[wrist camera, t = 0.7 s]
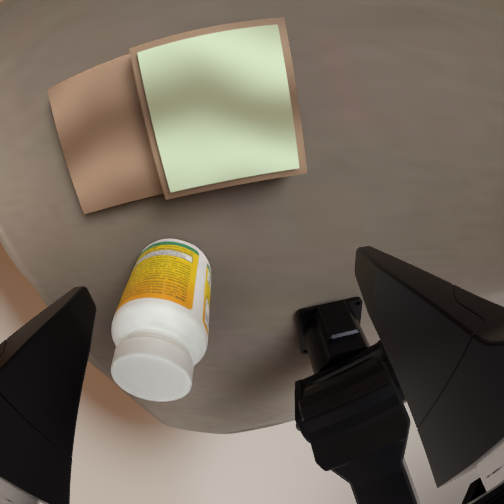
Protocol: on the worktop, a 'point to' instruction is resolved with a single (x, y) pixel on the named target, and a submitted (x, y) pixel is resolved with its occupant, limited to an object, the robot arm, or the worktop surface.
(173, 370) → the supplement bottle
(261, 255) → the worktop surface
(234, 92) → the step stand
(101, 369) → the worktop surface
